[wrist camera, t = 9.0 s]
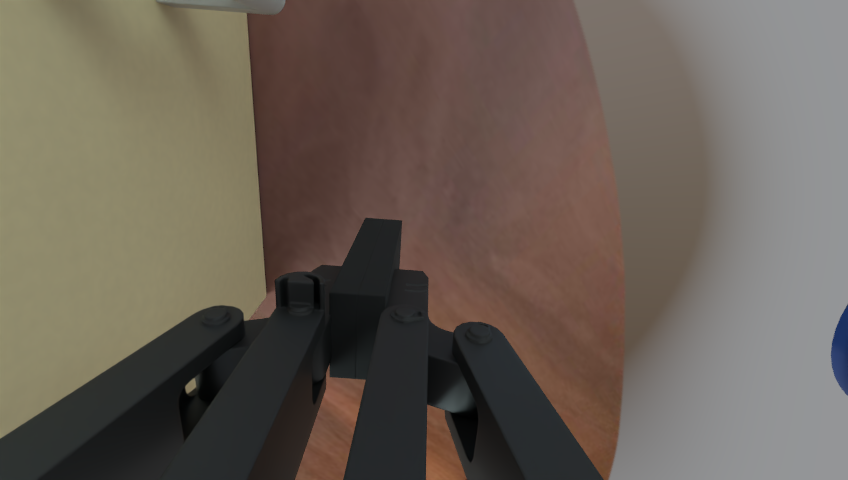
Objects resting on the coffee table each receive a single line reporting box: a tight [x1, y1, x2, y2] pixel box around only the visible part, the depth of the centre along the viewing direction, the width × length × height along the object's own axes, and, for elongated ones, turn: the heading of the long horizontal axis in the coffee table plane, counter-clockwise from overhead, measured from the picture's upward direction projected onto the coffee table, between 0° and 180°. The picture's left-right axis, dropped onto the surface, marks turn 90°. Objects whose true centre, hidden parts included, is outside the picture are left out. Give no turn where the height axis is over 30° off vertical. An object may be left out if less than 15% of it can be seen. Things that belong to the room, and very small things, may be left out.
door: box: [0, 0, 285, 438], centre depth 23 cm, size 7×26×24 cm, turn 176°
